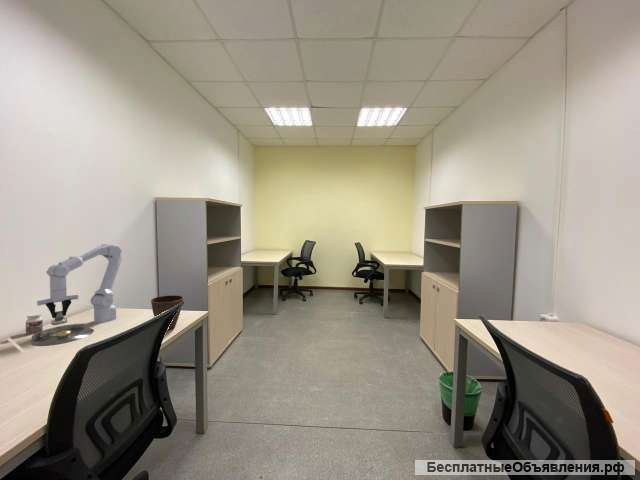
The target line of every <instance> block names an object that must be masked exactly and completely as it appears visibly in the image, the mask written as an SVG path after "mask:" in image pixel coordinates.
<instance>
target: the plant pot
mask: <svg viewBox="0 0 640 480" xmlns="http://www.w3.org/2000/svg"><path fill="white" fill-rule="evenodd" d="M183 300H184V297H183V296H181V295H178V294H177V295H176V294H175V295H173V294H172V295H163V296H157V297H153V298H152V299H150V303H151V309H152V314H153V317H154V318H155V316H157V315H159V314H161V313H162V312H164V311H166V310H168V309H170V308H172V307H174V306H175V305H177V304H179V303H180V302H182V303H183ZM181 310H182V307H181V308H180V309H179V311H178V312H177V314H176V315H175V317H174V319H173V321H172V322H171V324H170V326H169V329H168V330H167V331H169V330H173V329H175V328H176V325H177V323H178V321H179V316H180V315H181Z"/></svg>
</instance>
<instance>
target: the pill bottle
mask: <svg viewBox="0 0 640 480" xmlns="http://www.w3.org/2000/svg"><path fill="white" fill-rule="evenodd" d="M26 318H27V319H26V321H25V335H26V336H27V335H28V336H29V335H34V334H36V333H38V332H40V331H43V330H44V329H43V326H44V325H43V323H44V322H43V317H42V313H41V312H37V313H30V314H27V316H26Z"/></svg>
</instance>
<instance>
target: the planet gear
mask: <svg viewBox="0 0 640 480" xmlns="http://www.w3.org/2000/svg"><path fill="white" fill-rule="evenodd" d="M50 323H51V325H52V326H57V325H58V326H60V325H64V324H66V323H68V318H67V317H65V316H64V312H63V311H62V310H58V311H55V318H54V319H52V320H51V322H50Z"/></svg>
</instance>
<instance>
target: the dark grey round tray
mask: <svg viewBox="0 0 640 480" xmlns="http://www.w3.org/2000/svg"><path fill="white" fill-rule="evenodd" d="M94 331H95V330H94V329H93V328H91V327H85V323H84V322H83V323H71V324H62V325H58V326H55V327H51V328H47V329H43V331H40V332H38V333H36V334H31V341H30V345H32V346H35V347H49V346H51V347H52V346H57V345H64V344H68V343H73V342H75V341H78V340H82V339H85V338H86V337H89V336H90V335H92V334H93V333H94Z"/></svg>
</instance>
